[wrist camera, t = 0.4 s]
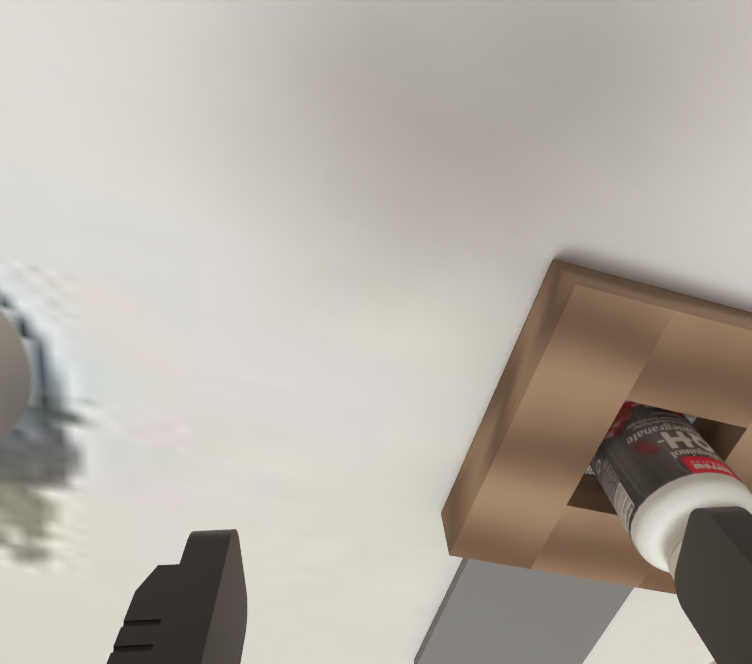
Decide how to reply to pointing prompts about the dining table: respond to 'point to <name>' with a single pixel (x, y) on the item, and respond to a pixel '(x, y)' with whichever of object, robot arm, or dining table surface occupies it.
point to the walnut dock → (594, 421)
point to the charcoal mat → (519, 617)
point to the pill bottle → (662, 478)
